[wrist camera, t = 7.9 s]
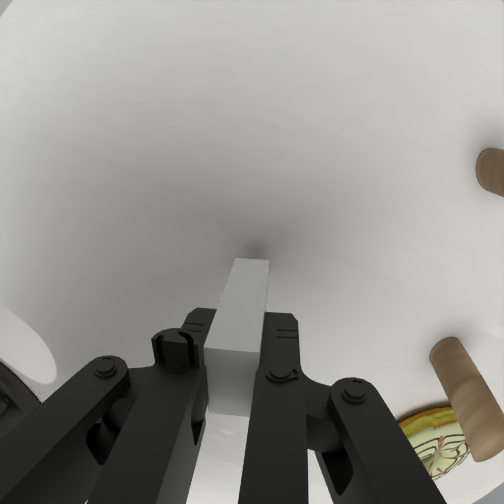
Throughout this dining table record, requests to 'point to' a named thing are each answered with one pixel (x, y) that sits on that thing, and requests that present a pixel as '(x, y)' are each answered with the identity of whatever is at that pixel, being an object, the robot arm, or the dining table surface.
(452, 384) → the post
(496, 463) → the dining table surface
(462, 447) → the decorated donut
